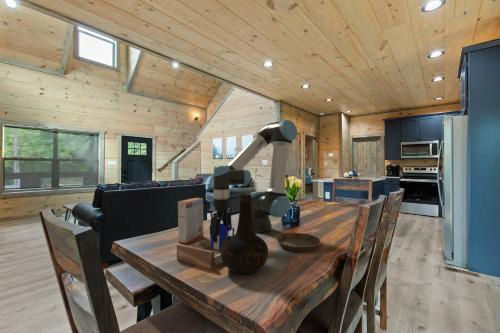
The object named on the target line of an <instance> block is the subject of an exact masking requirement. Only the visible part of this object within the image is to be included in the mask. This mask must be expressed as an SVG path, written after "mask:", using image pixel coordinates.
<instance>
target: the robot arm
mask: <svg viewBox="0 0 500 333" xmlns="http://www.w3.org/2000/svg"><path fill="white" fill-rule="evenodd" d="M295 124H296V123H294V121H293V120H291V119H282V120H280V121H274V122H269V123H267V124H266V125H264V126H263V127H262V128H261V129H260V130H258V132H256V134H254V136H253V139H252V140H251V141H250V142H249V143H248V144H247V145H246V146H245V147H244V148H243V149H242V150H241V151H240V152H239V153H238V154H237V155H236V156H235V157H234V158H233V159H232V160H231V161H230V162H229V163H228V165H215V166H214V168H213V175H212V176H213V200H212V202H213V207H214V212H210V225H209V235H210V234H211V235H213V242H214V247H213V250H220V248H219V235H218V232H219V228H220V224H223V225H227V227H230V228H233V226H232V225H233V224H232V208H229V206H230V186H238V185H239V186H240V185H242V186H245V185H249V184H250V183H251V181H252V174H251V172H250V171H249V169H244V168H245V167H246V166H248V164H250V162H251V161H252V160H253V159H254V158H255V156H257V155H258V154H259V153H260V151H261V150H262V149H263V148H266V147H268V145H270V144H271V145H272V147H273V148H272V156H271V157H272V158H271V168H270V178H269V183H268V185H269V186H268V189H266V191H253V192H251V193H249V194H250V195H251V199H254V200H253V201H251V206H252V219H253V226H254V231H255V234H265V233H266V234H267V233H270V232H272V231H273V225H272V222H271V219H270V216H271V217H274V218H282V217H284V216H286V214H288V212H289V210H290V208H291V203H290V202H291V201H290V199H289V197H287V195H288V192H287V191H286V189H285V186H286V176H287V169H288V168H287V167H288V159H289V158H288V157H289V149H290V147H291V146H292V145H293V141H294V140H295V139H297V136H298V129H297V126H296V125H295ZM231 231H232V229H228V230H227V236H226V238H227V237H228V236H230V232H231Z"/></svg>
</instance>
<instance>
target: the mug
mask: <svg viewBox="0 0 500 333" xmlns="http://www.w3.org/2000/svg"><path fill="white" fill-rule="evenodd" d="M228 229H231V231H232V234H231V236H232V235H235V227H232V228H230V227H227V225H223V223H220V228H219V232H218V235H219V249H221V246H222V245H221V244H222V242H223V241H224V240H225V238H226V236H227V230H228ZM209 235H210V236H209V237H210V245H211V247H212V248H214V242H213V235H211V234H210V233H209Z"/></svg>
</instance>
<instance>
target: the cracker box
mask: <svg viewBox="0 0 500 333" xmlns="http://www.w3.org/2000/svg"><path fill="white" fill-rule="evenodd" d="M177 220H178V221H177V224H178V225H177V227H178V229H177V230H178V232H177V233H178V236H177V237H178V243H180V244H189V243H191V242H193V241H196V240H197V239H200V238H202V237H204V199H203V197H202V198H201V197H193V198H188V199H184V200H180V201H177Z"/></svg>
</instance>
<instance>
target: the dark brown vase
mask: <svg viewBox="0 0 500 333" xmlns="http://www.w3.org/2000/svg"><path fill="white" fill-rule="evenodd" d="M250 194H251V193H248V194H247V193H241V194H240V193H239V194H238V195H239V198H237V199H236V200H237V201H239V208H238V209H239V211H238V212H239V213H238V221H237V228H236V232H235V233H234V235H232V234H231V235H229V236H228V237H227V238H225V240H224V241H223V242H222V244H221V245H222V246H221V248H220V253H221V258H222V260H223V262H222V263H223V264H224V265H225V266H226V267H227V269H229V270H230V271H231V272H234V273H236V274H240V275H247V274H252V273H255V272H257V271H259V270H260V269H261V268H262V267H263V266H264V265H265V264H266V263H267V260H268V257H269V246H268V245H267V243H266V241H265V240H264V239H263V238H261V237H260V236H258V235H257V233H255V231H254V226H253V219H252V206H251V201H253V200H254V199H251V195H250Z"/></svg>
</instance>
